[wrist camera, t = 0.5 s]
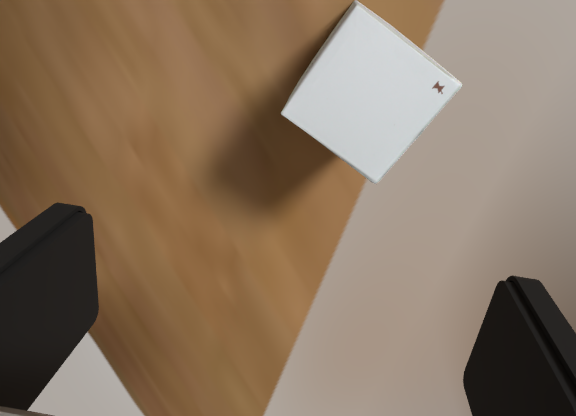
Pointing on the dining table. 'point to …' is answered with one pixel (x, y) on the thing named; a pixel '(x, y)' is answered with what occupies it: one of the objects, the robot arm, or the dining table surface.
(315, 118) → the supplement box
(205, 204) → the dining table surface
